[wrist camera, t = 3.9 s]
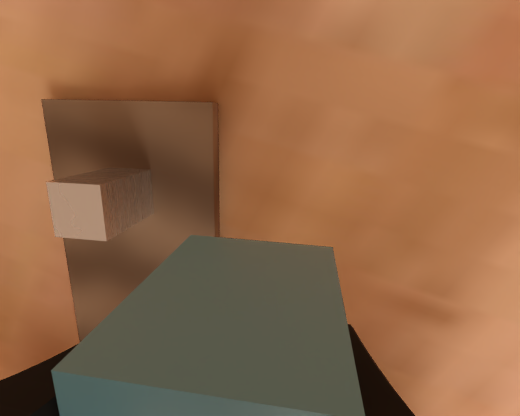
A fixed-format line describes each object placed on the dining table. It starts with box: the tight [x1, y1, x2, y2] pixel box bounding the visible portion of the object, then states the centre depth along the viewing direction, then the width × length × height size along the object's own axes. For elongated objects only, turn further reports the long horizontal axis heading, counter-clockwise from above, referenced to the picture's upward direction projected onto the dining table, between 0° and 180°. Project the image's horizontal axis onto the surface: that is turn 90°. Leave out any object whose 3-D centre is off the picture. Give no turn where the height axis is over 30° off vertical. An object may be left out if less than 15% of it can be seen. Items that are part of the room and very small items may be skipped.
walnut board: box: [41, 99, 220, 342], centre depth 20 cm, size 22×10×1 cm, turn 179°
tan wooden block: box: [46, 168, 154, 241], centre depth 16 cm, size 3×3×4 cm
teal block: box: [51, 235, 365, 416], centre depth 9 cm, size 5×5×7 cm
